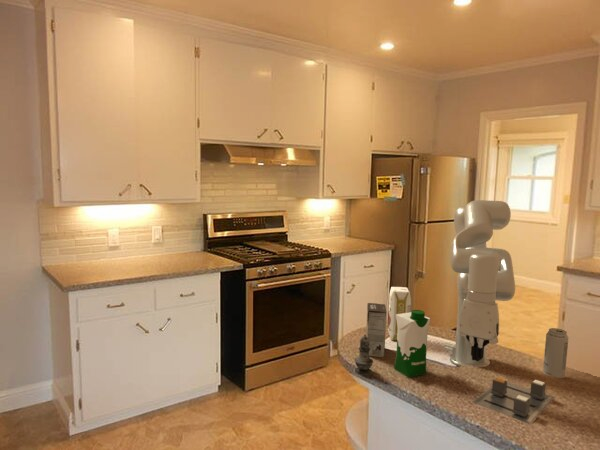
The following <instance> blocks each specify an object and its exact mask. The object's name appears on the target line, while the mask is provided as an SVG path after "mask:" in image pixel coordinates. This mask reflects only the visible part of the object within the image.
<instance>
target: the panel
mask: <svg viewBox="0 0 600 450" xmlns="http://www.w3.org/2000/svg"><path fill="white" fill-rule="evenodd" d="M491 391H492V385H491V386H490V387H488V388H487V389H485V391H484V392H482V393H481V394H480V395H478V396H476V397H475V398H474V399H473V400H472V401H471V403H472V404H476V405H478V406H480V407H484V408H486V409H488V410H490V411H491V410H492V411H493V412H494V411H495V412H497V413H500V414H502V415H505V416H507V417H510V418H512V419H516V420H518V421H521V422H523V423H526V424H528V425H532V424H533V423H534V422H535V420H537V419H538V417H539V416H540V415H541V414H542V413H543V412H544V411H545V409H547V407H548V406H549V405H550V404H551V403H552V402H553V401H554V400H555V398H556V397H555V396H552V395H550V394H547V393H546V395H545V396H544V397H543V399H542V400H541V399H538V398H535V397H532V396H530V392H531V388H528V387H525V386H521V385H520V384H519V385H518V384H516V383H513V382H511V381H510V382H509V381H507V393H506V394H505V395H504V396H503V397H501V396H498V395H495V394H492V393H491ZM518 395H520V396H523V397H526V398H529V399H530V407H529V410H530V412H529V413H528V414H527V415H526V416H525V417H523V416H521V415H518V414H515V413H512V412H513V408H514V398H515V397H516V396H518Z"/></svg>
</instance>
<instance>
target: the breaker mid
mask: <svg viewBox="0 0 600 450" xmlns="http://www.w3.org/2000/svg"><path fill="white" fill-rule="evenodd" d="M507 382H508V380H506V379H503V378H500V377H498V376H497V377H495V378H494V379H492V385H491V386H492V391H491V393H492V394H495V395H498V396H501V397H503V396H504V395H505V394H506V393H507Z"/></svg>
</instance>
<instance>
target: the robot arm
mask: <svg viewBox="0 0 600 450" xmlns="http://www.w3.org/2000/svg"><path fill="white" fill-rule="evenodd" d="M511 216H512V215H511V208H510V206H509V204H508V203H507V202H506V201H503V200H486V199H485V200H483V199H481V200H480V199H478V200H477V199H475V200H471V201H469V202H468V203H467V204H466V205H463V206H460V207H458V208H456V210H455V211H454V214H453V223H454V231H455V234H456V235H455V236H454V238H453V240H452V241H451V243H450V244H451V245H450V252H449V253H450V254H449V255H450V257H449V258H450V259H449V260H450V262H449V263H450V268H451V269H452V271H453V272H455V273H457V276H456V287H457V288H456V289H457V314H456V315H457V318H456V332H455V333H456V334H455V344H452V343H449V342H445V343H444V350H445V351H448V352H450V353H451V354H450V356H449V361H450V362H451V363H452V364H454V365H455V366H457V367H463V366H466V367H471V368H482V367H483V368H484V367H487V366H489V365H490V364H491V362H490V359H489V358H487V357H486V354H487V353H486V352H487V351H486V350H487V345H496V344H498V343H499V338H498V337H499V334H500V313H499V312H500V311H499V306H498V303H497V302H500V301H501V302H508V301H510V300H512V299H513V298H514V296H515V293H516V280H515V275H514V267H513V260H512V255H511V254H510V252H509V251H507V250H506V249H503V248H496V247H495V248H493V247H487V242H489V241H490V240H491V239H492V237H493V234H494V230H496V231H499V230H500V231H501V230H503V229H505V228H506V227H507V226H508V225H509V223H510V222H511V221H510V220H511ZM496 301H497V302H496Z"/></svg>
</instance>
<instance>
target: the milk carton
mask: <svg viewBox="0 0 600 450" xmlns="http://www.w3.org/2000/svg"><path fill="white" fill-rule="evenodd" d="M425 314H426V312H425V311H424V310H420V309H413V310H410V313H403V314H396V320H397V326H398V333H397V341H396V355H395V362H394V370H395V371H397V372H399V373H401V374H402V375H404V376H406V377H407V378H412V377H413V378H414V377H418V376H421V375H426V374H427V347H428V346H427V345H428V335H429V334H428V331H429V327H430V324H431V320H432V319H431V318H430V317H428V316H425Z"/></svg>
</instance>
